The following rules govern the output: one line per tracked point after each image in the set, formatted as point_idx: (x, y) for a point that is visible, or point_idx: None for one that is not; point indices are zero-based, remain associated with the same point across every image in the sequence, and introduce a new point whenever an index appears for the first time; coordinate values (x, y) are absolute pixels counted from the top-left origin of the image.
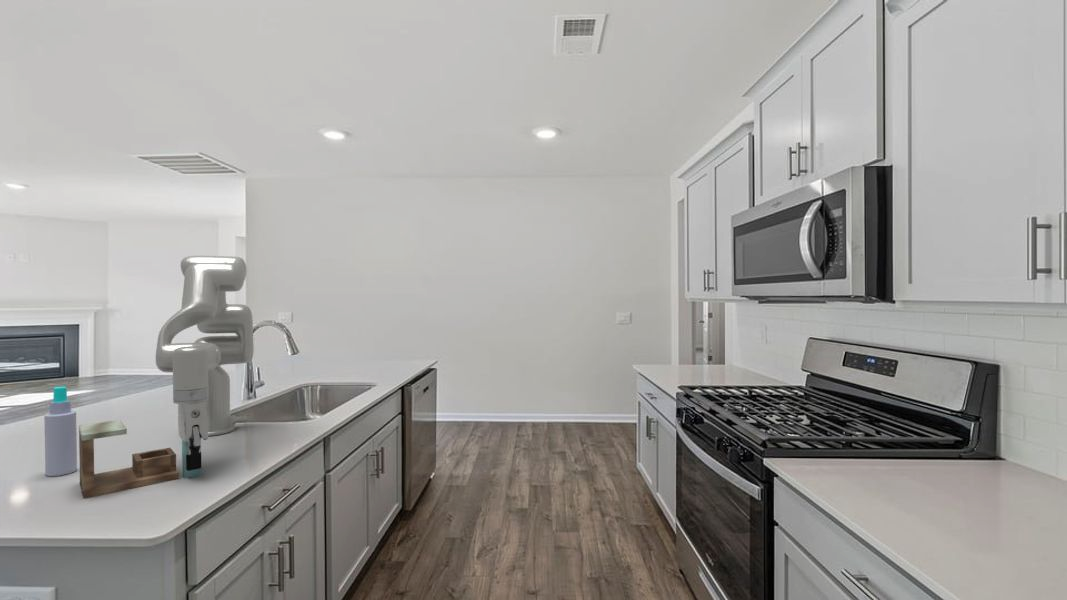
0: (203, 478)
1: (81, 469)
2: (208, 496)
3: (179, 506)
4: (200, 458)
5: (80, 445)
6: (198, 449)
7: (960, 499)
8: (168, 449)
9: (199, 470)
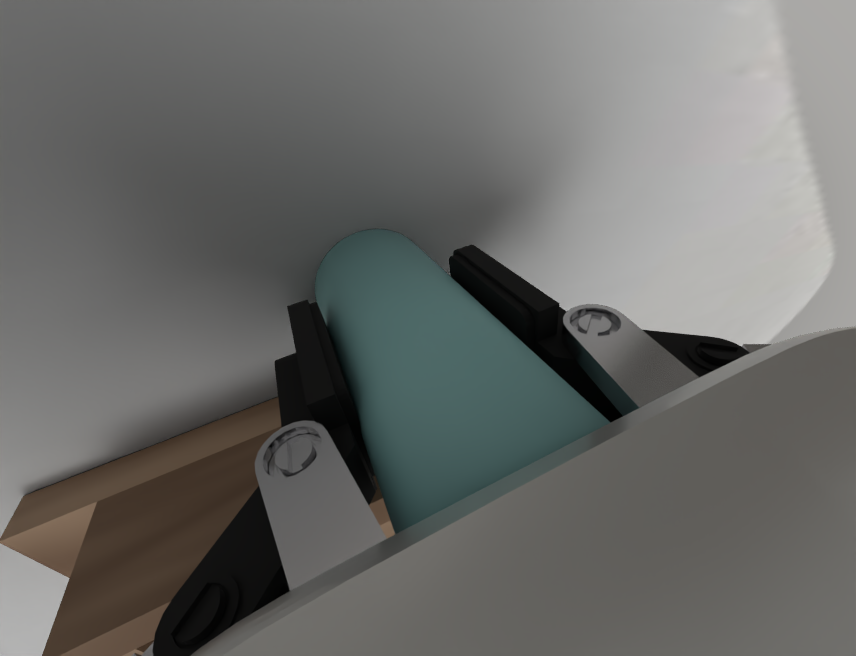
0: (484, 204)
1: None
2: (747, 162)
3: (733, 262)
4: (514, 282)
5: None
6: (687, 342)
7: None
8: (144, 630)
9: (419, 250)
